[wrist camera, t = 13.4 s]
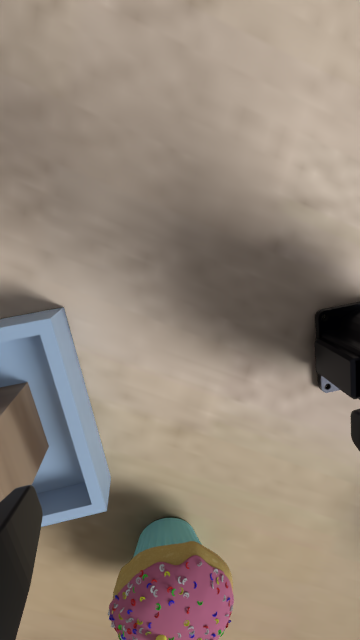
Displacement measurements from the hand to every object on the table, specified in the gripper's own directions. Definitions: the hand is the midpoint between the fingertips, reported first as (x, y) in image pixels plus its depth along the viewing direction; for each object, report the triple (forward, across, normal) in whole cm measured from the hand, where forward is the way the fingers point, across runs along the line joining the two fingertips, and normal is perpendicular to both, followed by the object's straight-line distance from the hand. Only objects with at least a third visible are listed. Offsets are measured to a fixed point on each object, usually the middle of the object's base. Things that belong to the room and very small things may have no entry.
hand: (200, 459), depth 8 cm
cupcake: (+13, +3, +18) cm, 23 cm away
